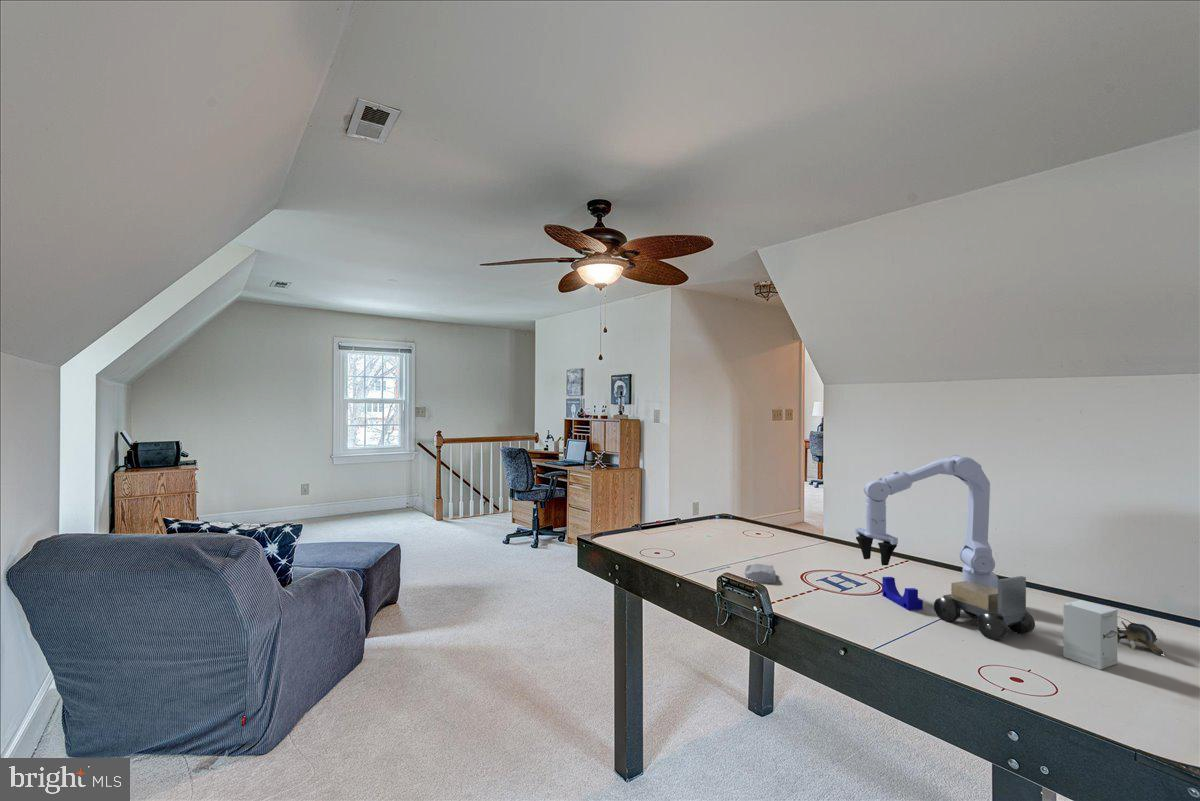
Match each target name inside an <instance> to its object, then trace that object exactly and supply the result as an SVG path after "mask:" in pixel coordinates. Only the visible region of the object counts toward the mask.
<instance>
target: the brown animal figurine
mask: <svg viewBox="0 0 1200 801" xmlns="http://www.w3.org/2000/svg"><path fill="white" fill-rule="evenodd" d="M1121 624H1122V625H1123V627H1124V628H1125V630H1124V629H1120V627H1119V626H1118V625H1117V631H1118V636H1117V637H1118V641H1117V642H1120V641H1121V640H1123V639H1124V640H1127V641H1128V643H1129V645H1130V647H1131V648H1133V649H1132V650H1134V649H1135V648H1136V643H1140V644H1142V645H1145V647H1147V648H1148V649H1149V650H1151V651H1152V652H1153V653H1155V654H1156V655H1157V656H1160V655H1161V654H1163V652H1164V650H1162V649H1161V648H1160V647H1158V646H1157V644H1155V643H1156V642H1157V641H1159V640H1158V638H1157V635H1156V633H1155V632H1154V629H1153V630H1152V628H1150V626H1148V625H1147V624H1142V623H1141V624H1140V623H1135V622H1131V623H1129V624H1127V625H1126V623H1125V622H1124V621H1123V620H1121ZM1120 634H1123V635H1120ZM1131 648H1130V649H1131Z"/></svg>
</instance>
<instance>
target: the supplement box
mask: <svg viewBox="0 0 1200 801" xmlns="http://www.w3.org/2000/svg"><path fill="white" fill-rule="evenodd" d="M1062 620H1063V625H1062V626H1063V629H1062V630H1063V633H1062V634H1063V636H1062V637H1063V640H1062V643H1063V646H1062V652H1063V655H1062V656H1063V657H1064V658H1067V659H1069V660H1072V661H1075V662H1077V663H1080V664H1083V665H1085V666H1088V667H1091V668H1093V669H1097V670H1100V671H1101V670H1103V669H1106V668H1108V667H1111V666H1115V665H1118V642H1119V641H1118V637H1117V636H1118V631H1117V626H1118V609H1115V608H1114V607H1108V606H1106V605H1101V604H1097V603H1094V602H1089V601H1086V600H1081V599H1079V600H1074V601H1070V602H1065V603H1063V619H1062Z"/></svg>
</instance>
